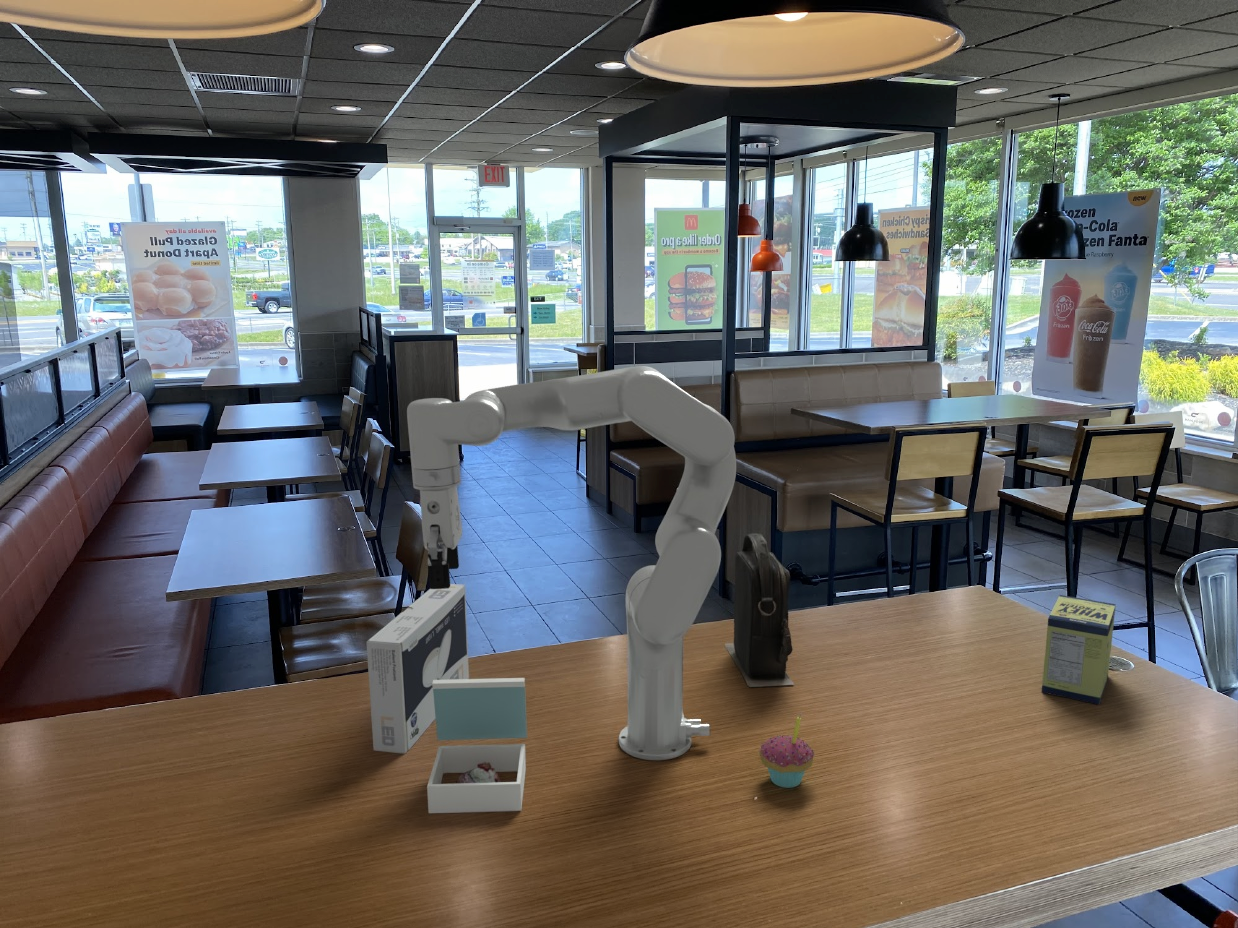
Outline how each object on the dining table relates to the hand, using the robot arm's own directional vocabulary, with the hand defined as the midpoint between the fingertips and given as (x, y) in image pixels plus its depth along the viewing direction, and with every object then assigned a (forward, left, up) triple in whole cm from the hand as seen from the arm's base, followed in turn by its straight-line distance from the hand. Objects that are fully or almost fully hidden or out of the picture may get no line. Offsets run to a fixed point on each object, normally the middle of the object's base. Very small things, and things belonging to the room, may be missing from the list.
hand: (444, 578), depth 150 cm
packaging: (+7, -16, -32) cm, 36 cm away
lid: (-6, +6, -21) cm, 22 cm away
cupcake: (-55, +11, -32) cm, 64 cm away
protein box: (-120, -21, -32) cm, 126 cm away
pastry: (-6, +12, -32) cm, 35 cm away
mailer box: (-6, +12, -31) cm, 34 cm away
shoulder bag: (-59, -34, -32) cm, 75 cm away
